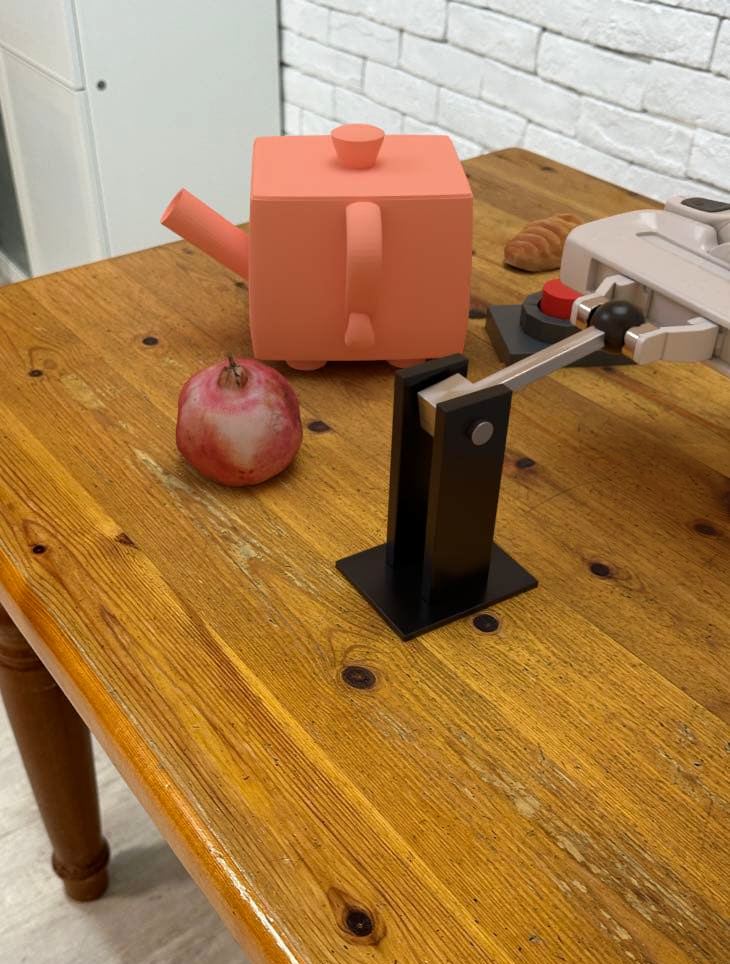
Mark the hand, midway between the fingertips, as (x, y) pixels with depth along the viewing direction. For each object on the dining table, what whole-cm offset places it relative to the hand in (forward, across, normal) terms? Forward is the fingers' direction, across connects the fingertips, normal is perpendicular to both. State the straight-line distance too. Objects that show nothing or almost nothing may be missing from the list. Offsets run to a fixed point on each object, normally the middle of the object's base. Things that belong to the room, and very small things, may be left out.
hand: (604, 332), depth 61 cm
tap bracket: (+11, 0, -15) cm, 18 cm away
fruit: (+16, +18, -15) cm, 28 cm away
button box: (-16, +20, -15) cm, 30 cm away
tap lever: (+5, 0, -3) cm, 5 cm away
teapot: (+1, +33, -15) cm, 36 cm away
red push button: (-16, +20, -11) cm, 29 cm away
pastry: (-28, +36, -15) cm, 48 cm away
